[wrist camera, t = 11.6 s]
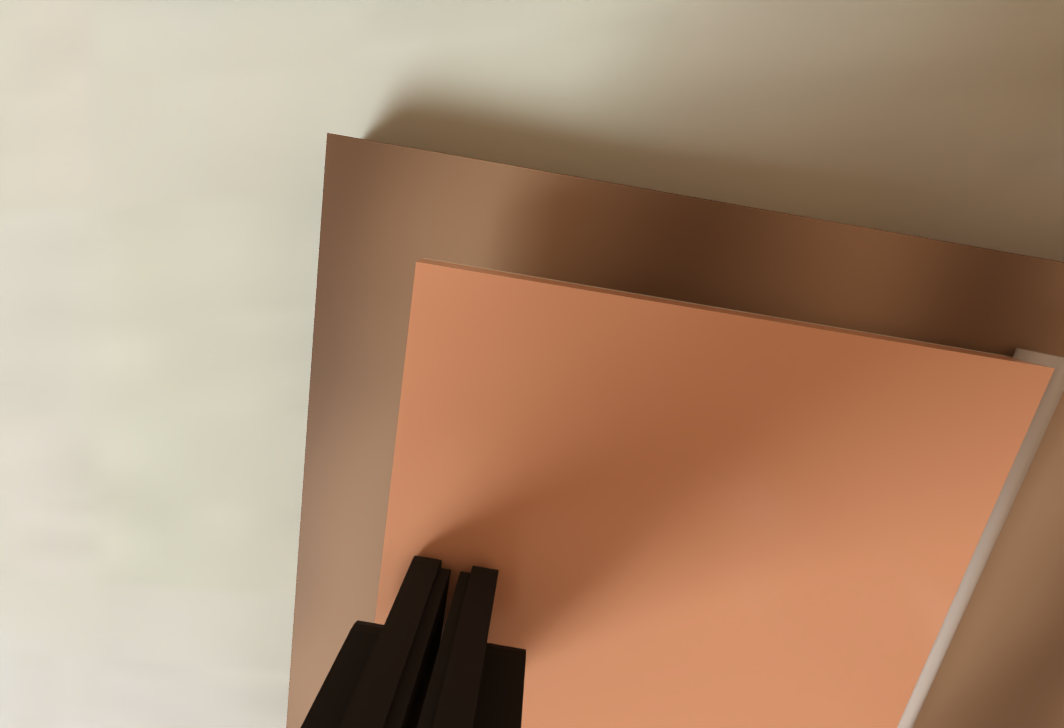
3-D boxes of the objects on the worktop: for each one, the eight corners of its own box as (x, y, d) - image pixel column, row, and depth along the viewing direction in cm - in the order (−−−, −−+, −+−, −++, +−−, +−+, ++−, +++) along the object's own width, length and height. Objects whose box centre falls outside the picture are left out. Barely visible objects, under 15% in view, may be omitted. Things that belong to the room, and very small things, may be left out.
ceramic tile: (417, 249, 8) (424, 246, 9) (344, 879, 12) (355, 831, 13) (1093, 364, 10) (1039, 351, 11) (850, 895, 13) (826, 850, 14)
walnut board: (1497, 345, 12) (1629, 362, 10) (1129, 909, 16) (1185, 976, 15) (355, 145, 12) (327, 133, 11) (307, 741, 17) (281, 790, 15)
